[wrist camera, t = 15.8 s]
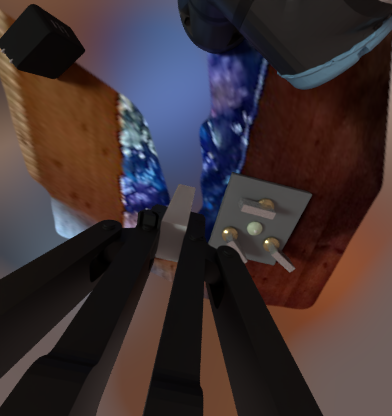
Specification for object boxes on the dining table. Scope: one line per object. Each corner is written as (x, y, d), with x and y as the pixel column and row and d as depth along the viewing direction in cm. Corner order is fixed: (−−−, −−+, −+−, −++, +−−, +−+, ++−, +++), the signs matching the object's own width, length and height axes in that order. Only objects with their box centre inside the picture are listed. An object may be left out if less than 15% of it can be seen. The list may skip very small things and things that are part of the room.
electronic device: (87, 50, 40) (51, 30, 31) (55, 80, 43) (14, 69, 34) (72, 28, 39) (31, 1, 30) (41, 60, 41) (-6, 44, 32)
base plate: (232, 171, 49) (233, 175, 46) (308, 191, 50) (314, 196, 47) (207, 245, 59) (207, 252, 56) (271, 260, 60) (274, 268, 57)
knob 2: (275, 200, 49) (283, 209, 44) (268, 215, 51) (275, 225, 46) (241, 191, 49) (245, 199, 44) (235, 206, 51) (239, 215, 45)
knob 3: (259, 242, 55) (264, 255, 50) (271, 233, 53) (278, 245, 48) (278, 261, 57) (285, 274, 52) (291, 252, 56) (299, 266, 51)
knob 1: (218, 230, 54) (219, 242, 49) (232, 223, 53) (235, 234, 48) (234, 253, 57) (237, 266, 52) (247, 247, 56) (251, 259, 51)
